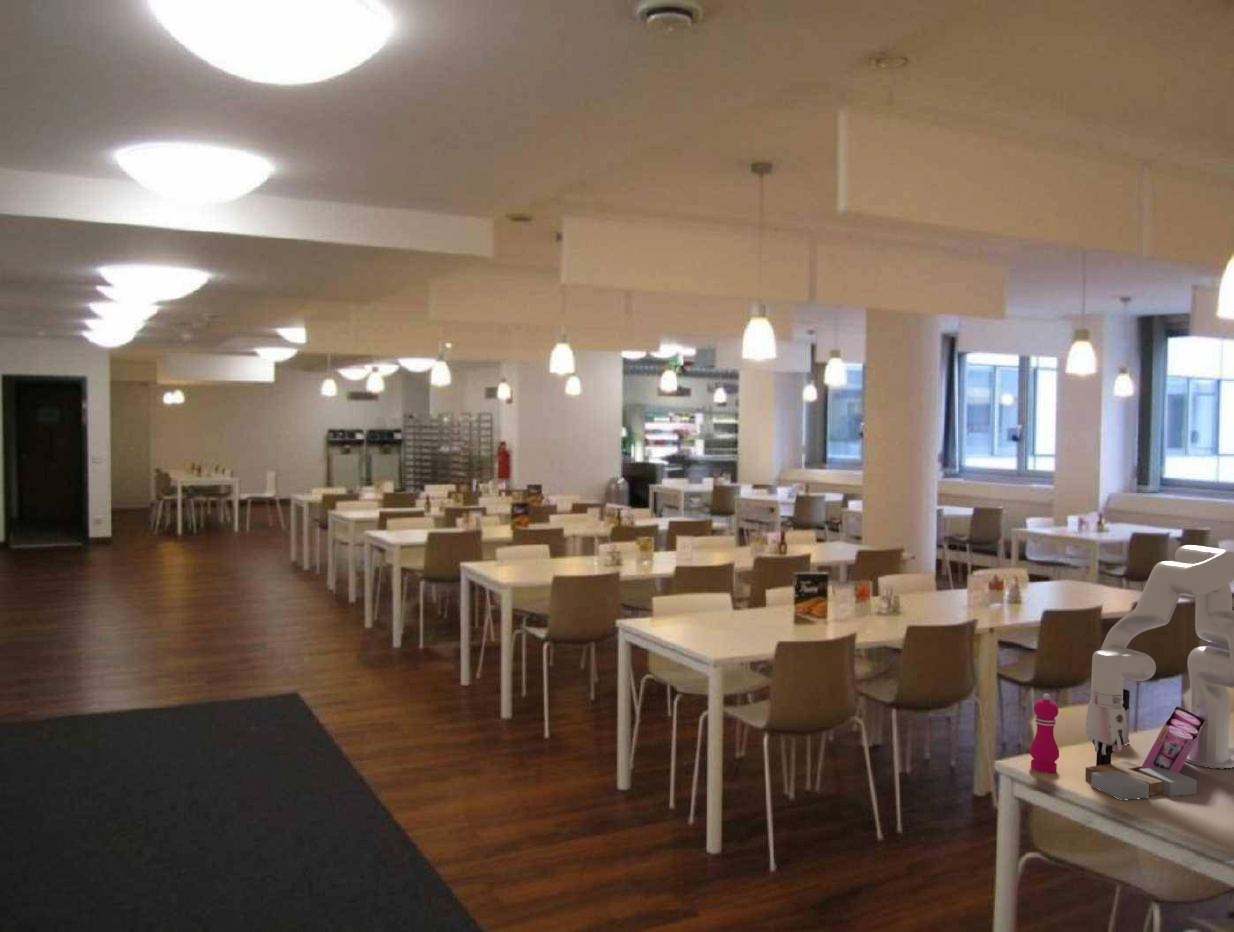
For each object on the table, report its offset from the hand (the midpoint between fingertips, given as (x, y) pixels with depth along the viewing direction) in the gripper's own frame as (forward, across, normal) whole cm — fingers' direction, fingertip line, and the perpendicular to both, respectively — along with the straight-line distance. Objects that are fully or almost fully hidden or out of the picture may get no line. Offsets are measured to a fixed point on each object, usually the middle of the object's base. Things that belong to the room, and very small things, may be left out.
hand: (1103, 768), depth 258 cm
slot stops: (+1, -13, 0) cm, 13 cm away
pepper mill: (+2, +6, +14) cm, 15 cm away
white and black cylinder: (+1, +22, -22) cm, 31 cm away
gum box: (0, -1, -18) cm, 18 cm away
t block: (+1, -9, 0) cm, 9 cm away
